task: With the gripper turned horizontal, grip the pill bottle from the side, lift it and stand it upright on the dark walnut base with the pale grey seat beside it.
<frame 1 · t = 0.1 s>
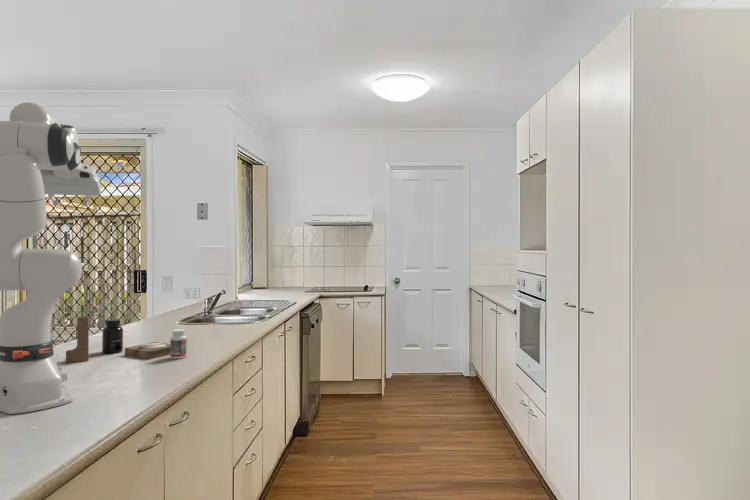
hand: (70, 205, 184), 54 cm above the counter, tool tilted 30°, fingers open, 8 cm apart
pill bottle: (178, 358, 180), on the counter
walnut base: (152, 353, 185), on the counter
supplement bottle: (112, 352, 188), on the counter
wooden block: (77, 361, 173), on the counter
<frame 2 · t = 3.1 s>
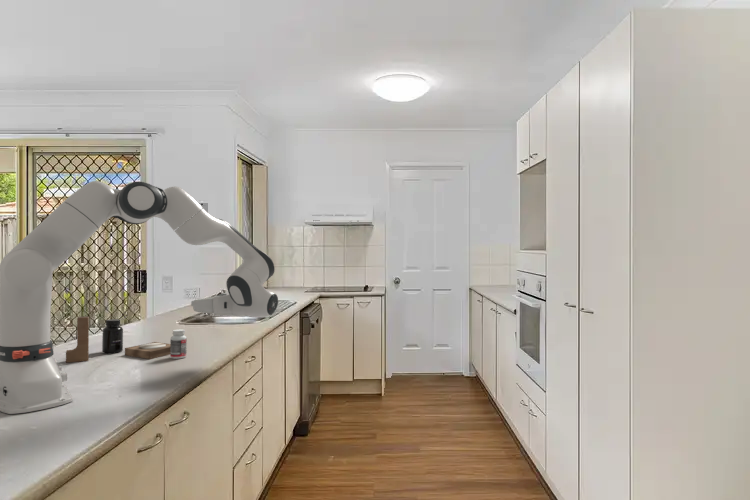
hand: (202, 301, 175), 20 cm above the counter, tool horizontal, fingers open, 8 cm apart
nothing on the counter moved.
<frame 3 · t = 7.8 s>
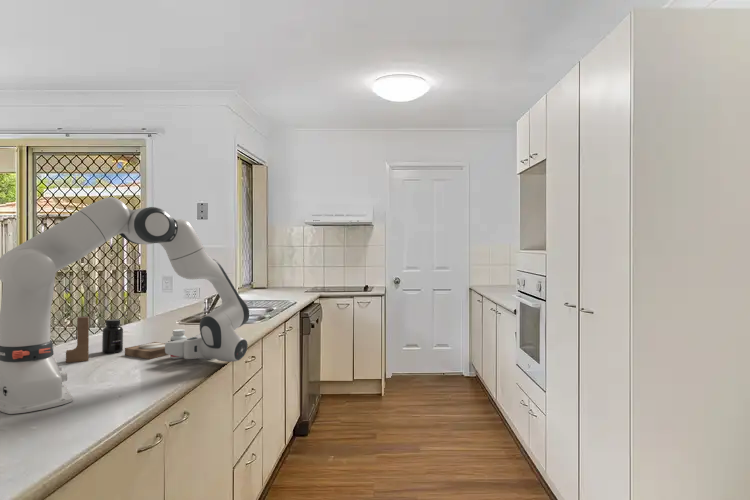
hand: (176, 341, 180), 6 cm above the counter, tool horizontal, fingers closed on pill bottle, 5 cm apart
pill bottle: (178, 357, 180), on the counter, touching gripper
everything else where it was.
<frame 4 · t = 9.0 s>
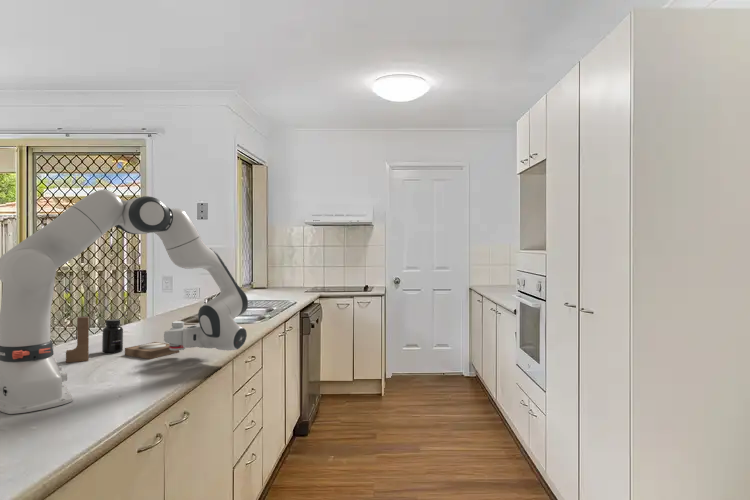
hand: (175, 331, 180), 9 cm above the counter, tool horizontal, fingers closed on pill bottle, 5 cm apart
pill bottle: (177, 350, 179), point 3 cm above the counter, touching gripper
everything else where it was.
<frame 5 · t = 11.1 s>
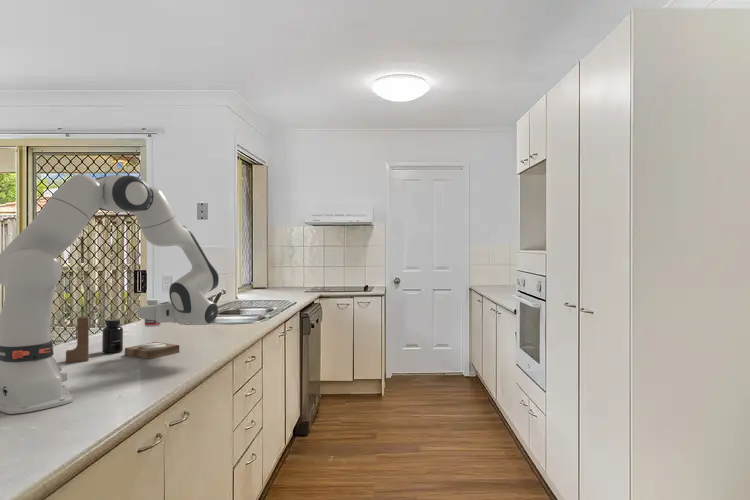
hand: (151, 308, 185), 17 cm above the counter, tool horizontal, fingers closed on pill bottle, 5 cm apart
pill bottle: (152, 326, 185), point 10 cm above the counter, touching gripper
everything else where it was.
when the fingers open (10 cm above the counter, at t = 13.0 s): pill bottle stays where it is, resting on walnut base.
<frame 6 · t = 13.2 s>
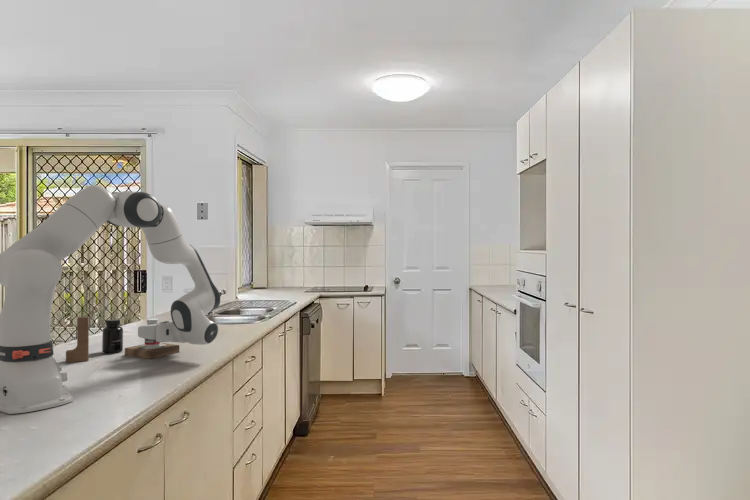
hand: (150, 326, 186), 10 cm above the counter, tool horizontal, fingers open, 7 cm apart
pill bottle: (152, 346, 185), point 3 cm above the counter, touching walnut base
everything else where it was.
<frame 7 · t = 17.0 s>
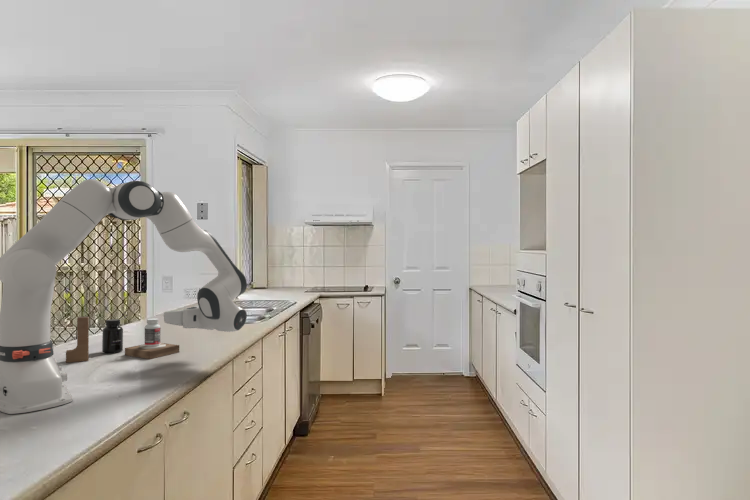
hand: (175, 313, 180), 16 cm above the counter, tool horizontal, fingers open, 8 cm apart
nothing on the counter moved.
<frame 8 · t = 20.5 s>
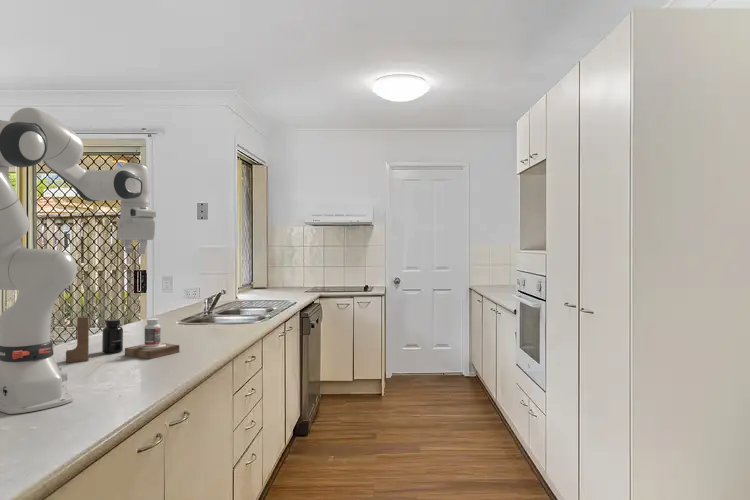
hand: (134, 253, 169), 37 cm above the counter, tool pointing down, fingers open, 8 cm apart
nothing on the counter moved.
at the end: pill bottle inside the target area on the walnut base (0.1 cm from its centre), point 2.8 cm above the walnut base's base; pill bottle tilted 0°; the gripper is holding nothing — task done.
